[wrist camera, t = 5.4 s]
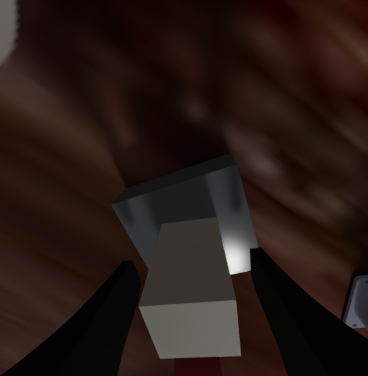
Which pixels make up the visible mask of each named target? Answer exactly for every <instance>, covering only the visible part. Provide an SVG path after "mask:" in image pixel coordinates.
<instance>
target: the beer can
mask: <svg viewBox="0 0 368 376" xmlns="http://www.w3.org/2000/svg"><path fill="white" fill-rule="evenodd" d="M173 376H222V371H221V363H220V361H219V360H218V358H217V357H191V358H176V360H175V363H174V375H173Z"/></svg>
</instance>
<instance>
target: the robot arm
mask: <svg viewBox="0 0 368 376" xmlns="http://www.w3.org/2000/svg"><path fill="white" fill-rule="evenodd" d="M250 266H251V276H252V280H253V283H254V286H255V290H256V293H257V295H258V298H259V300H260V303H261V305H262V308H263V310H264V312H265V315H266V317H267V320H268V322H269V325H270V327H271V329H272V332H273V334H274V337H275V339H276V342H277V345H278V347H279V350H280V353H281V356H282V359H283V362H284V365H285V368H286V371H287V374H288V376H368V339H367V338H365V337H364V336H362V335H361V334H360V333H358V332H357V331H355V330H354V329H352V328H362V327H365V328H366V329H367V330H368V275H360V276H357V277H355V278H354V282H353V285H352V289H351V293H350V296H349V300H348V304H347V308H346V311H345V315H344V319H343V321H341V320H340V319H339V318H338V317H336V316H335V315H334V314H332V313H331V312H330V311H328V310H327V309H326V308H325V307H323V306H322V305H321V304H320V303H318V302H317V301H316V300H315V299H314V298H312V297H311V296H310V295H309V294H308V293H307V292H305V291H304V290H303V289H302V288H301V287H300V286H299V285H298V284H297V283H295V282H294V281H293V280H292V279H291V278H290V277H289V276H288V275H287V274H286V273H285V272H284V271H283V270H282V269H281V268H280V267H279V266H278V265H277V264H276V263H275V262H274V261H273V260H272V259H271V258H270V257H269V256H268V254H267V253H266V252H265V251H264V250H263V249H262V248H261V247H260V248H250ZM140 287H141V282H140V279H139V276H138V274H137V271H136V268H135V266H134V263H133V260H131V261H123V262H122V263H121V264H120V265H119V267H118V268H117V269H116V270H115V271H114V272H113V273H112V275H111V276H110V277H109V278H108V279H107V280H106V281H105V283H104V284H103V285H102V286H101V287H100V288H99V289H98V290H97V291H96V293H95V294H94V295H93V296H92V297H91V298H90V299H89V300H88V301H87V302H86V303H85V304H84V305H83V306H82V307H81V308H80V309H79V310H78V311H77V312H76V313H75V314H74V315H73V316H72V317H71V318H70V319H69V320H68V321H67V322H66V323H65V324H63V325H62V326H61V327H60V328H59V329H58V330H57V331H56V332H55V333H53V334H52V335H51V336H50V337H49V338H47V339H46V340H45V341H44V342H43V343H41V344H40V345H39V346H38V347H37V348H36V349H34V350H33V351H32V352H31V353H29V354H28V355H27V356H26V357H24V358H23V359H22V360H20V361H19V362H18V363H17V364H15V365H14V366H13V367H11V368H10V369H9V370H7V371H6V372H5V373H3V374H2V375H1V376H117V374H118V370H119V365H120V361H121V357H122V353H123V349H124V345H125V342H126V339H127V335H128V332H129V329H130V326H131V322H132V319H133V316H134V313H135V309H136V306H137V303H138V298H139V293H140Z"/></svg>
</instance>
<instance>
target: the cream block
mask: <svg viewBox="0 0 368 376" xmlns="http://www.w3.org/2000/svg"><path fill="white" fill-rule="evenodd" d="M139 309H140V311H141V314H142V316H143V318H144V321H145V323H146V326H147V328H148V331H149V333H150V335H151V338H152V340H153V343H154V345H155V347H156V350H157V352H158V355H159V357H160V359H162V358H191V357H221V356H241V351H240V340H239V329H238V318H237V307H236V298H235V294H234V290H233V285H232V281H231V276H230V272H229V268H228V263H227V259H226V255H225V250H224V246H223V242H222V237H221V233H220V229H219V224H218V220H217V217H213V218H205V219H197V220H189V221H180V222H172V223H164V224H162V226H161V229H160V233H159V236H158V240H157V243H156V247H155V250H154V254H153V258H152V261H151V265H150V268H149V272H148V275H147V279H146V282H145V286H144V289H143V293H142V297H141V300H140V304H139Z"/></svg>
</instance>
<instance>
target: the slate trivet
mask: <svg viewBox="0 0 368 376" xmlns="http://www.w3.org/2000/svg"><path fill="white" fill-rule="evenodd" d="M111 206H112V207H113V209H114V211H115V212H116V214H117V216H118V218H119V219H120V221H121V223H122V225H123V226H124V228H125V230H126V231H127V233H128V235H129V237H130V238H131V240H132V242H133V243H134V245H135V247H136V249H137V250H138V252H139V254H140V255H141V257H142V259H143V261H144V262H145V264H146V266H147V267H148V269H149V268H150V265H151V261H152V258H153V254H154V250H155V247H156V243H157V240H158V236H159V233H160V229H161V226H162V224H164V223H172V222H180V221H189V220H197V219H205V218H213V217H217V220H218V224H219V229H220V233H221V237H222V242H223V246H224V250H225V255H226V259H227V263H228V268H229V272H230V275H231V274H236V273H240V272H245V271H250V270H251V266H250V248H258V244H257V240H256V236H255V232H254V228H253V224H252V221H251V217H250V213H249V209H248V205H247V201H246V197H245V193H244V189H243V185H242V181H241V178H240V174H239V170H238V166H237V163H236V162H235V161H234V160H233V159H232V158H231V156H230V155H229V154H226V155H223V156H220V157H217V158H214V159H211V160H208V161H205V162H202V163H199V164H196V165H193V166H190V167H187V168H184V169H181V170H179V171H176V172H173V173H170V174H167V175H164V176H161V177H158V178H155V179H152V180H149V181H146V182H143V183H140V184H137V185H134V186H131V187H128V188H126V189H125V190H124V191H123V192H122V193H121V194H120V195H119V197H118V198H117V199H116V200H115V201H114V202H113V203H112V204H111Z"/></svg>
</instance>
